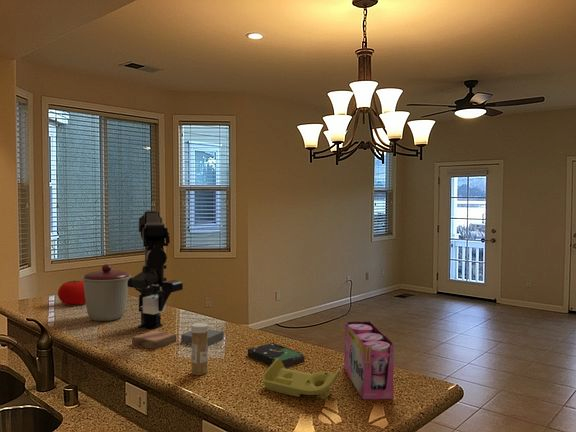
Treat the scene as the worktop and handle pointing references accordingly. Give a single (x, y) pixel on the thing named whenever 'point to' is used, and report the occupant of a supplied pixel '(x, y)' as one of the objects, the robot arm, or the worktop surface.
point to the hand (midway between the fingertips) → (154, 310)
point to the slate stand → (212, 337)
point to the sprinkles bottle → (199, 348)
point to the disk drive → (275, 354)
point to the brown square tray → (154, 339)
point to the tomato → (72, 293)
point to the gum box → (369, 360)
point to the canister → (106, 293)
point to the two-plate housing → (152, 305)
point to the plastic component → (298, 381)
